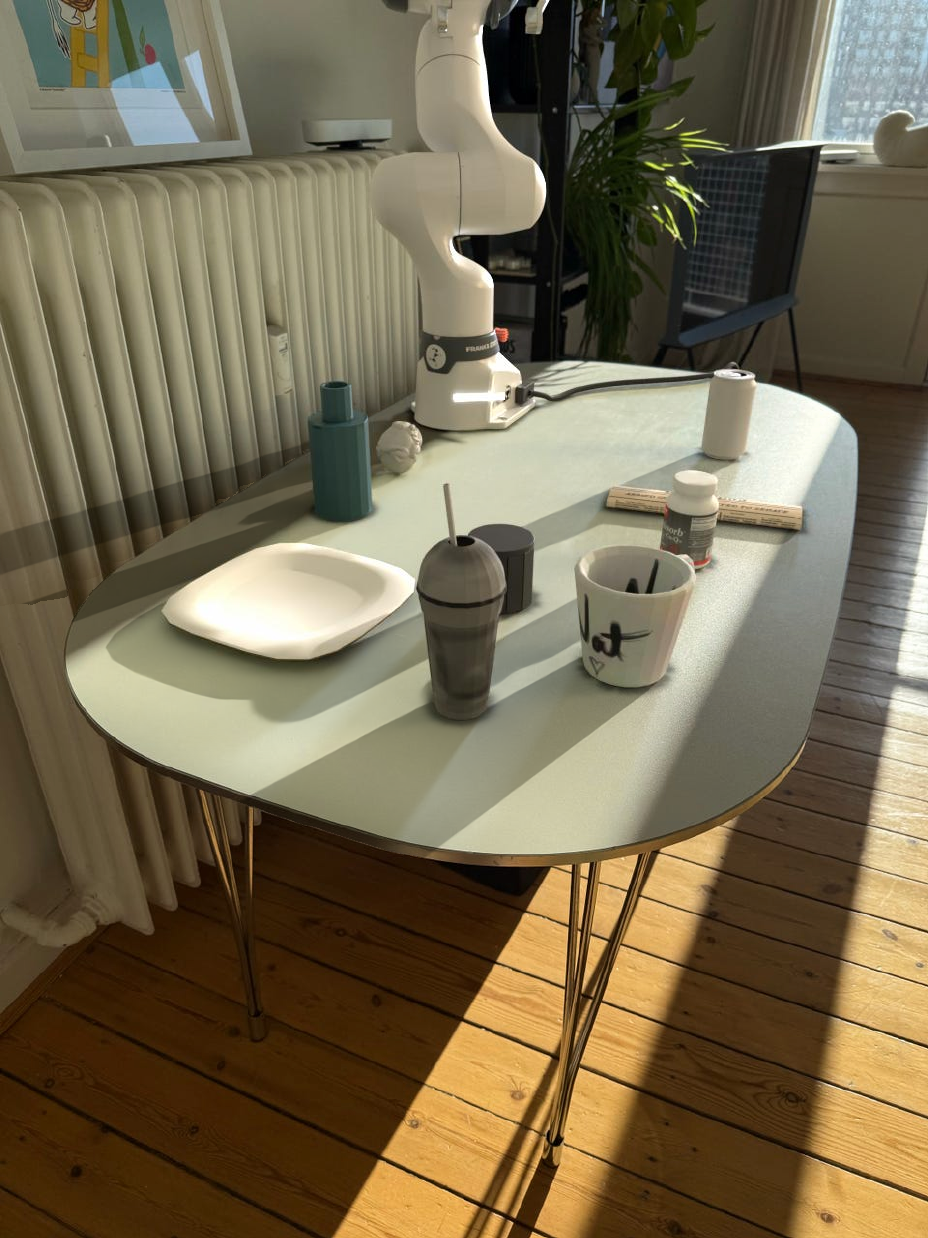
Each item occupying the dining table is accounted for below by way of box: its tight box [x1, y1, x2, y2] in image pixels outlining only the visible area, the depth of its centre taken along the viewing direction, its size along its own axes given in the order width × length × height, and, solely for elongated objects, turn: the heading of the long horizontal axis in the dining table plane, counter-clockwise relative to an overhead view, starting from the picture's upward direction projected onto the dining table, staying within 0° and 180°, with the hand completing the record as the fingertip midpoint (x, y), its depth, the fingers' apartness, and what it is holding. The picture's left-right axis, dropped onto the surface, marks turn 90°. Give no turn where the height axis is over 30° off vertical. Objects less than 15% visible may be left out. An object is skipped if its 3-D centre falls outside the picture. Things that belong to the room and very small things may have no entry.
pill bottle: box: [659, 469, 719, 570], centre depth 100 cm, size 6×6×10 cm
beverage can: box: [700, 368, 757, 461], centre depth 130 cm, size 6×6×12 cm
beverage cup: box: [415, 482, 507, 721], centre depth 72 cm, size 7×7×20 cm
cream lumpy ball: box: [375, 420, 423, 475], centre depth 125 cm, size 6×7×7 cm
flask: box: [307, 380, 373, 523], centre depth 110 cm, size 7×7×16 cm
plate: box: [161, 542, 416, 662], centre depth 92 cm, size 22×22×2 cm
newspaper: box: [605, 484, 803, 531], centre depth 114 cm, size 24×7×2 cm, turn 73°
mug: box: [573, 544, 697, 688], centre depth 82 cm, size 10×15×10 cm
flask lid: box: [467, 523, 535, 615], centre depth 92 cm, size 7×7×7 cm
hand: (487, 30), depth 89 cm, fingers open, 8 cm apart
